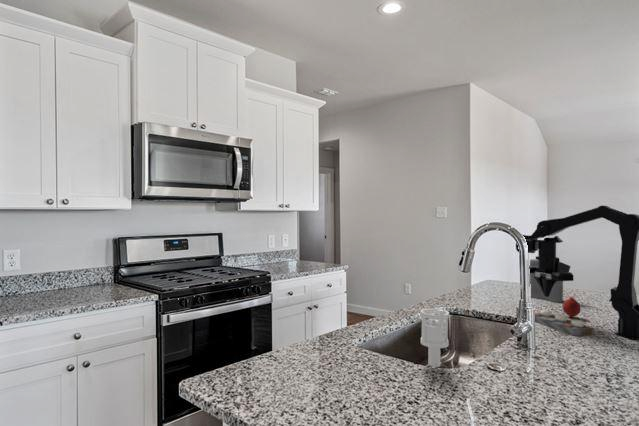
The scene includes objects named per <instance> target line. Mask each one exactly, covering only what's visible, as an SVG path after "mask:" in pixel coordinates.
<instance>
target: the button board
mask: <svg viewBox="0 0 639 426" xmlns="http://www.w3.org/2000/svg"><path fill="white" fill-rule="evenodd" d="M534 313H535V321H534V322H535V323H538V324H540V325H543V326H546V327H549V328H551V329H554V330H557V331H559V332H562V333H565V334H567V335H571V336H575V337H576V336H588V335H595V328H594V327H592V326H588V325H586V324H584V327H582V328H576V327H573V325H572V324H571V320H572V319H571V320H570V319H568V318H567V322H559V321H556V319H555V315H556V314H552V317H544V316H541V312H534Z"/></svg>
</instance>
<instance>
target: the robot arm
mask: <svg viewBox="0 0 639 426" xmlns="http://www.w3.org/2000/svg"><path fill="white" fill-rule="evenodd" d="M599 219H604V220H607V221H609V222H611V223H612V224H615V225H618V229H619V230H618V231H619V235H620V238H621V249H620V250H621V252H620V262H619V271H618V272H619V274H618V283H617V286H614V287H612V288H611V289H610V299H609V302H611V307H612V308H613V309H614V310H615V311H616V312H617V313H618V319H617V331H616V332H614V334H615V335H617V336H620V337H623V338H626V339H630V340H635V341H636V340H639V303H638V298H637V291H636V287H635V278H636V277H635V275H636V265H637V254H638V253H637V252H638V244H639V214H635V213H625V212H623V211H621V210H617V209H615V208H611V206H608V205H598V206H597V207H594V208H591V209H587V210H585V211H582V212H578V213H575V214H571V215H568V216H565V217H560V218H553V219H546V220H541V221H538V223H537V225H536V229H535V230H534V231H533V232H532V234H531V235H527V234H522V235H523V236H524V237H525V239H526V242H527V245H528V253H527V254H536V252H537V251H538V254H537V256H535V259H537V260H538V266H530V265H528V266H529V269H530V273H535V276H534V278H535V279H536V281H537V282H538V284H539V286H540V288H541V290H542V292H543V294H544V296H545V297H549V295H550V292H551V290H552V288H553V285H554V284H555V283H556V282H557V281H563V282H573V281H574V274H573V273H572V272H570V269H571V265H568V264H566V263H564V262H562V263H561V261H560V258H559V257H557V244H561V243H563V242H564V241H563V240H562V239H561V238H560V237H559V236H558V235H557V234H559V233H561V232H563V231H564V230H566V229H569V228H570V227H575V226H579V225H581V224H584V223H586V224H587V223H589V222H593V221H596V220H599ZM550 236H553V237H550ZM515 250H516V252H518V253H520V252H519V249H518V245H517V242H515Z"/></svg>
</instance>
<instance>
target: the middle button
mask: <svg viewBox="0 0 639 426" xmlns="http://www.w3.org/2000/svg"><path fill="white" fill-rule="evenodd" d="M554 315H555V319H556V321H559V322H567V319H568V315H565V314H564V315H563V314H554Z"/></svg>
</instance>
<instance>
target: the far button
mask: <svg viewBox="0 0 639 426" xmlns="http://www.w3.org/2000/svg"><path fill="white" fill-rule="evenodd" d="M552 312H553V311H551V310H548V309H541V310H540V313H541V316H544V317H552V315H553V313H552Z"/></svg>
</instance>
